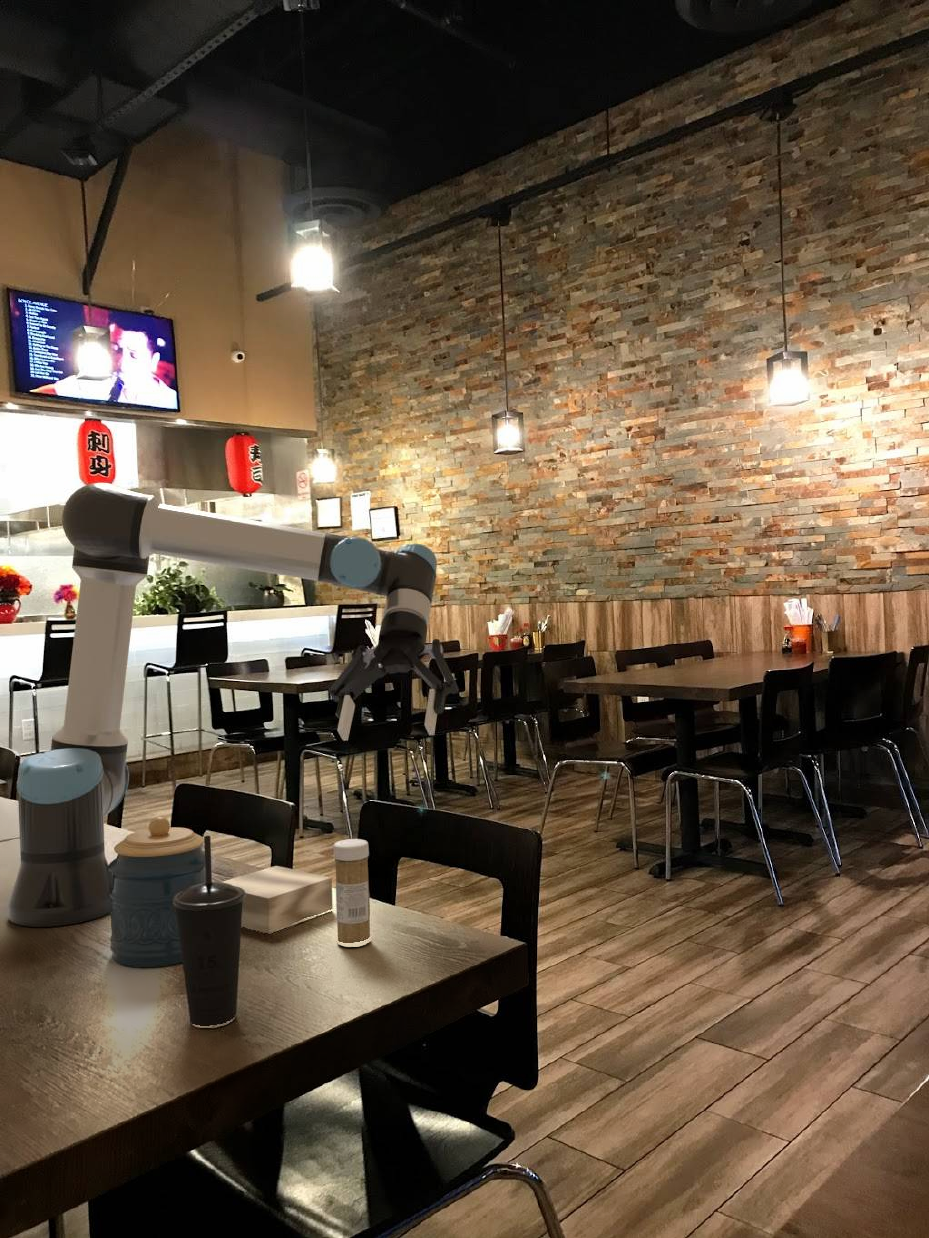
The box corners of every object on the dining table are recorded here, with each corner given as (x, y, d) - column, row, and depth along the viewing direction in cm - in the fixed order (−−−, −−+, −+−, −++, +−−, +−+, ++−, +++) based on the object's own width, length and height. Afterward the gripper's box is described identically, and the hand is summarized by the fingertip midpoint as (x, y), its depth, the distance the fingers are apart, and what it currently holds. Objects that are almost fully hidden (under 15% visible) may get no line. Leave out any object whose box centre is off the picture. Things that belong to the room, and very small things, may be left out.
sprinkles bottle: (371, 936, 133) (369, 837, 132) (370, 948, 128) (367, 845, 128) (337, 938, 132) (334, 838, 132) (335, 950, 128) (332, 846, 128)
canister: (235, 944, 131) (231, 812, 131) (154, 977, 120) (150, 832, 120) (170, 928, 138) (166, 803, 138) (89, 957, 128) (84, 821, 127)
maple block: (269, 934, 134) (268, 898, 134) (213, 919, 142) (212, 884, 142) (332, 911, 144) (331, 877, 144) (276, 898, 151) (276, 865, 151)
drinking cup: (173, 1012, 110) (167, 832, 109) (243, 1000, 112) (238, 825, 112) (179, 1040, 102) (173, 848, 102) (253, 1027, 105) (248, 840, 105)
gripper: (484, 632, 160) (472, 742, 146) (340, 644, 166) (316, 751, 152) (473, 601, 154) (460, 712, 141) (325, 615, 160) (298, 723, 147)
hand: (385, 733), depth 146 cm, fingers open, 13 cm apart
